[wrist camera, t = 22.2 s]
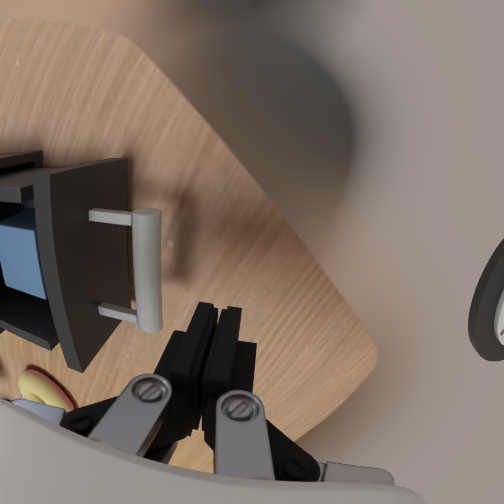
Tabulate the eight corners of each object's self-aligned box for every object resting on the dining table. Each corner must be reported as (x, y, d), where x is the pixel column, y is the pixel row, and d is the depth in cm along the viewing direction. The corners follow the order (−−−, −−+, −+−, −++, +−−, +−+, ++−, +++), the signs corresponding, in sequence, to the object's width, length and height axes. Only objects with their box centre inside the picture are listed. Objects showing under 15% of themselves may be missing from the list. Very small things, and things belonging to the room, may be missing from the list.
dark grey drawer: (188, 161, 17) (129, 177, 10) (182, 319, 21) (145, 393, 14) (7, 160, 18) (-60, 178, 10) (19, 278, 22) (-32, 316, 15)
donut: (63, 362, 30) (19, 359, 29) (46, 380, 25) (2, 374, 25) (91, 420, 32) (46, 413, 31) (79, 440, 27) (33, 431, 27)
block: (80, 209, 18) (33, 230, 13) (85, 268, 19) (45, 300, 15) (39, 204, 18) (-7, 223, 13) (45, 259, 19) (5, 285, 15)
